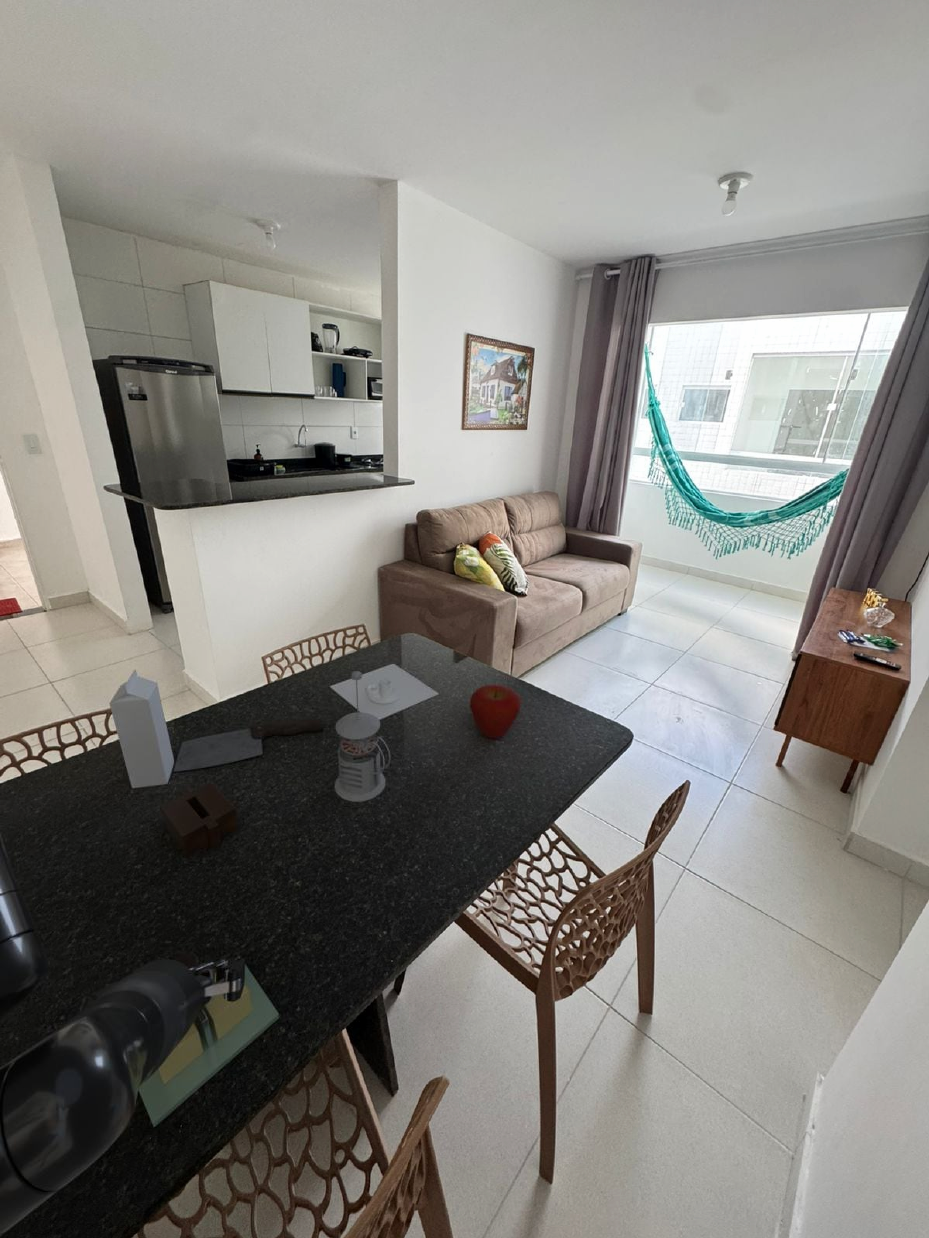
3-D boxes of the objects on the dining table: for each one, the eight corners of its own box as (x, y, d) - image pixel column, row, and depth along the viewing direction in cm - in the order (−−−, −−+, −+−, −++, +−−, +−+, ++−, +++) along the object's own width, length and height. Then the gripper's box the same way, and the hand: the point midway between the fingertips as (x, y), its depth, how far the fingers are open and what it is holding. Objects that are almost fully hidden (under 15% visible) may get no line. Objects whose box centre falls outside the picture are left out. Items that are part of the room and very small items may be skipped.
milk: (132, 789, 95) (103, 687, 86) (141, 767, 100) (115, 670, 91) (168, 784, 97) (144, 684, 88) (175, 763, 102) (153, 667, 93)
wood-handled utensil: (200, 1055, 58) (182, 989, 53) (182, 1020, 61) (164, 955, 56) (222, 1037, 59) (206, 972, 54) (203, 1004, 62) (187, 940, 57)
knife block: (190, 863, 81) (186, 842, 79) (161, 821, 88) (156, 801, 87) (243, 832, 87) (239, 812, 85) (211, 796, 94) (208, 777, 93)
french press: (357, 760, 106) (353, 653, 96) (403, 781, 101) (404, 671, 91) (323, 788, 98) (315, 675, 88) (370, 813, 93) (368, 696, 83)
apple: (518, 723, 121) (523, 679, 116) (514, 752, 111) (520, 705, 106) (472, 716, 122) (475, 673, 117) (464, 744, 112) (467, 697, 108)
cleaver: (321, 718, 118) (320, 711, 117) (328, 743, 110) (328, 735, 109) (177, 746, 107) (175, 738, 106) (173, 777, 99) (171, 768, 98)
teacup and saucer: (360, 693, 129) (359, 679, 127) (386, 683, 134) (386, 669, 132) (380, 709, 123) (379, 694, 121) (406, 698, 128) (406, 684, 126)
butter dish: (154, 1127, 52) (144, 1102, 50) (121, 1048, 58) (111, 1023, 56) (279, 1017, 62) (275, 993, 60) (240, 959, 68) (235, 935, 66)
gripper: (230, 955, 46) (261, 921, 61) (45, 988, 43) (127, 944, 58) (227, 1058, 43) (260, 996, 59) (29, 1101, 40) (119, 1023, 55)
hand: (194, 970), depth 58 cm, fingers open, 6 cm apart
